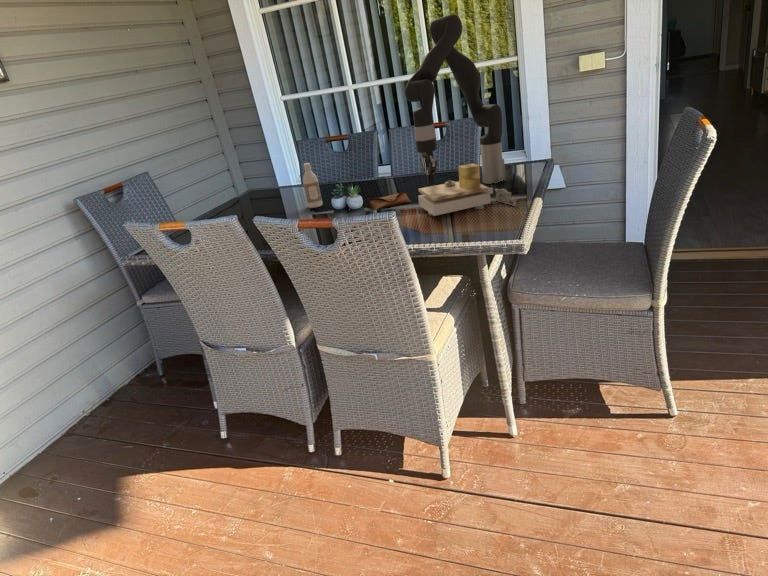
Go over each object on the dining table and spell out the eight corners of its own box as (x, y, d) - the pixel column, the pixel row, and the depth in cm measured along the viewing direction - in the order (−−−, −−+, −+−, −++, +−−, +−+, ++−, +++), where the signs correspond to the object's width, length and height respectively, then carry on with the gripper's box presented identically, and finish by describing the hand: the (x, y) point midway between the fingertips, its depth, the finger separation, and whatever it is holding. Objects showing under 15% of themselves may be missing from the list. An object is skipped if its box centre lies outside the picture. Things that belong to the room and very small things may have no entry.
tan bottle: (309, 209, 238) (299, 166, 230) (307, 205, 245) (298, 163, 236) (323, 206, 239) (314, 163, 231) (322, 202, 246) (313, 161, 237)
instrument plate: (471, 182, 210) (469, 159, 206) (490, 191, 194) (489, 165, 190) (418, 192, 206) (416, 168, 202) (433, 201, 190) (431, 176, 186)
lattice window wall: (517, 206, 194) (516, 191, 191) (513, 207, 193) (512, 192, 191) (498, 201, 204) (497, 186, 201) (494, 202, 203) (493, 187, 201)
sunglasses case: (374, 211, 218) (369, 196, 218) (371, 216, 224) (367, 202, 225) (413, 201, 222) (409, 187, 223) (409, 206, 229) (405, 192, 229)
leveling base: (471, 197, 214) (470, 178, 211) (494, 208, 195) (492, 188, 192) (418, 209, 210) (416, 190, 207) (436, 222, 191) (433, 201, 188)
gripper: (441, 137, 184) (446, 185, 191) (429, 134, 196) (434, 178, 203) (421, 141, 183) (427, 189, 190) (410, 138, 195) (416, 182, 202)
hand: (431, 183), depth 196 cm, fingers closed
